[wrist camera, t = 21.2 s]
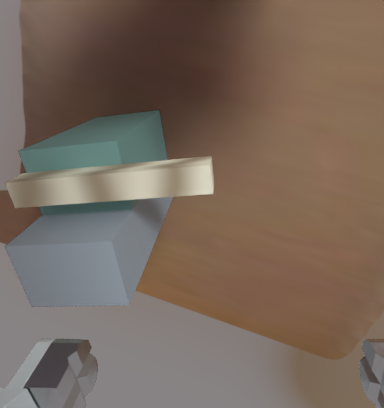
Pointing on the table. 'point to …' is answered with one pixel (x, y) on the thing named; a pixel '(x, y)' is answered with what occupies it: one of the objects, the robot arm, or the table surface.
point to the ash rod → (113, 182)
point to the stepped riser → (91, 218)
